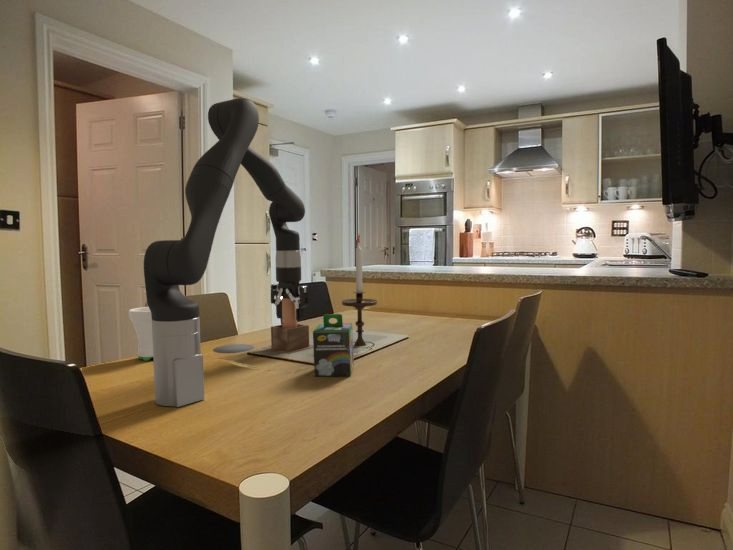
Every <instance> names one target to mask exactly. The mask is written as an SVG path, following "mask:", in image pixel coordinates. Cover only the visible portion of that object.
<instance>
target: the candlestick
mask: <svg viewBox="0 0 733 550" xmlns="http://www.w3.org/2000/svg"><path fill="white" fill-rule="evenodd" d="M360 238H361V235H360V233H358V236H357V239H356V241H357V247H356V248H355V284H356V285H355V286H356V287H355V289H356V290H355V291H353V292H352V293H353V294H355V298H349V299H347V298H346V299H343V300H341V306H344V307H353V308H354V309H355V310H357V313H356V314H357V320H356V321H355V323H354V324H355V327H357V329H356V330H355V333H357V339H356V340H355V341H353V349H355V347H363V349H368V348H371V347H374V346H375V343H374V342H371V341H365V340H364V339H363V333H364V332H365V330H363V326H364V325H365V322H364V321H363V310H364V309H365V308H366V307H372V306H376V305H378V299H373V298H364V294H366V293H367V292H365V291H363V249H362V248H361V245H360V242H361V239H360ZM367 344H372V345H371V346H367ZM354 346H355V347H354ZM365 346H366V347H365Z"/></svg>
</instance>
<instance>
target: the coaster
mask: <svg viewBox="0 0 733 550" xmlns="http://www.w3.org/2000/svg"><path fill="white" fill-rule="evenodd" d="M254 348H255V346H254V345H252V344H248V343H247V344H246V343H244V344H243V343H236V344H235V343H234V344H226V345H225V344H224V345H221V346H217V347H214V348H213V349H212V351H213V352H214V353H219V354H239V353H244V352H248V351H252V350H254Z"/></svg>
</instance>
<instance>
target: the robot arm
mask: <svg viewBox="0 0 733 550" xmlns="http://www.w3.org/2000/svg"><path fill="white" fill-rule="evenodd" d="M207 120H208V124H209V128H211V132H213V134H214V135H215V137H216V138H217V139H218V141H216V143H215V144H213V146H211V147H210V148H209V149H207V151H205V152H204V154H202V155H201V157H200V158H199V159H198V160H197V161H196V163H194V166H193V167H192V170H191V172H190V175H189V177H188V180H187V181H186V185H185V189H184V193H185V199H186V200H185V201H186V203H187V206H188V209H189V212H190V216H191V217H190V223H189V227H188V229H187V231H186V234H185V235H184V237H183V238H182V239H169V240H156V241H153V242H151V243H150V244H149V245H148V246H147V248H146V250H145V253H144V255H143V256H144V257H143V279H144V286H145V287H144V288H145V296H146V303H147V307H149V309H150V311H151V317H152V340H153V357H152V358H153V379H154V380H153V381H154V382H153V383H154V398H155V399H154V400H155V404H156V405H158V406H161V407H163V406H164V407H175V408H179V407H183V406H187V405H190V404H192V403H196V402H199V401H204V400H205V380H204V379H205V377H204V374H205V373H204V359H203V358H204V356H203V354H202V350H201V347H202V345H201V326H200V325H201V322H200V321H201V320H200V306H199V304H198V302H196V301H194V300H192V299H190V298H189V297H186V296H185V295H184V294H183V293H182V291H181V290H180V286H192V285H195V284H197V283H199V282H200V281H201V279H203V276H204V274H205V272H206V270H207V268H208V267H207V266H208V263H209V260H210V255H211V251H212V248H213V244H214V239H215V235H216V232H217V229H218V225H219V223H220V220H221V217H222V214H223V211H224V208H225V206H226V204H227V201H228V199H229V196H230V193H231V192H232V188H233V185H234V182H235V179H236V176H237V174H238V171H239V169H240V166H242V167H243V168H244V169H245V171H246V172H247V173H248V174H249V176H250V177H251V178H252V180H253V181H254V183H255V184H256V187H258V189H259V191H260V193H261V194H262V195H263V197H264V199H266V200H267V201H269V202H270V205H269V206H268V207H269V209H268V215H269V218H270V221H271V225H272V230H273V232H274V237H275V281H276V282H277V283H273V284H270V303H271V304H273V305H274V306H275V313H276V314H275V315H276V318H277V319H282V298H287V299H291V301H292V302H293V303H294V304H295V306H296V320H297V322H300V321H304V319H305V317H304V316H305V311H304V308H306V307H308V306H310V302H309V301H310V299H309V297H310V296H309V287H308V285H302V286H301V285H300V284H301V283H300V282H301V281H302V256H301V250H300V249H301V247H300V242H301V241H300V239H301V238H300V234H299V232H298V231H296V230H293V229H289V227H288V224H287V223H297V222H301V221H302V220H303V219H304V217H305V214H306V208H305V204H304V202H303V201H302V199H301V198H300V197H299V196H298V195H297V193H295V191H294V190H293V189H291V188H290V187H289V186H288V185H287V184H286V183H285V181H284V179H283V177H282V175H281V173H279V170H278V168H276V166H275V165H274V164H273V163H272V162H271V161H270V160H269V159H267V158H265V156H263V155H262V154H260V153H259V152H257V151H256V150H255V149H254V148H252V146H250V145H251V144H252V141H253V139H254V138H255V136H256V133H257V132H258V127H259V123H260V117H259V110H258V107H257V106H256V104H255V103H254V102H253V101H252V100H250V99H249V98H243V97H241V98H240V97H239V98H233V99H229V100H224V101H220V102H216V103H213V104H211V106H210V107H209V108H208V113H207Z"/></svg>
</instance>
